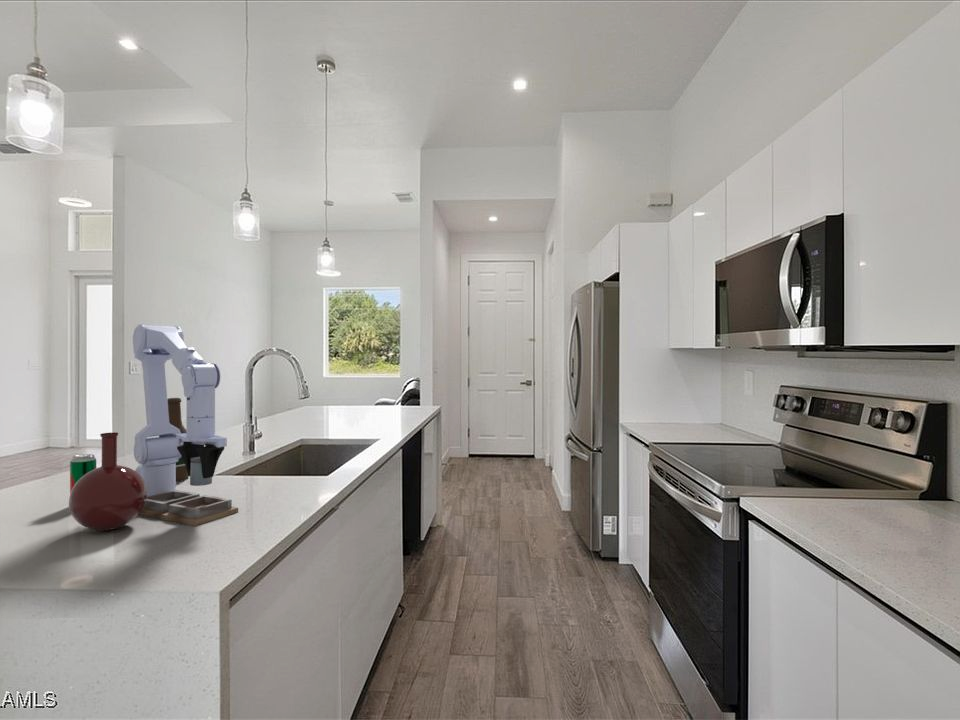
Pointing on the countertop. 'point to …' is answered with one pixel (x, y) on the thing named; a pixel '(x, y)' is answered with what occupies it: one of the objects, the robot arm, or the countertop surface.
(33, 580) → the countertop surface
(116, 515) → the round-bottom flask
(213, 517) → the caddy
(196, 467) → the grey plastic cylinder
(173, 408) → the beer bottle
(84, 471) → the soda can
